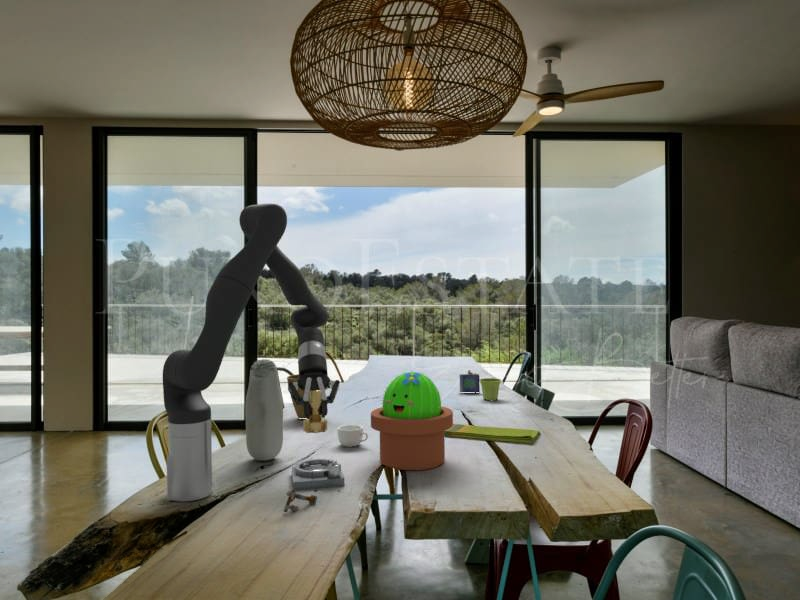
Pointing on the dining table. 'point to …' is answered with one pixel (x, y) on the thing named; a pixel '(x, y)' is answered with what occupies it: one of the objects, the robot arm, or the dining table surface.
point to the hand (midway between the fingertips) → (315, 416)
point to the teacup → (351, 435)
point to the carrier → (317, 474)
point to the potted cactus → (412, 423)
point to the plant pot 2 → (490, 388)
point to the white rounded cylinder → (264, 412)
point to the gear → (315, 414)
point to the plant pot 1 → (299, 407)
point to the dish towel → (492, 434)
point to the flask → (469, 382)
